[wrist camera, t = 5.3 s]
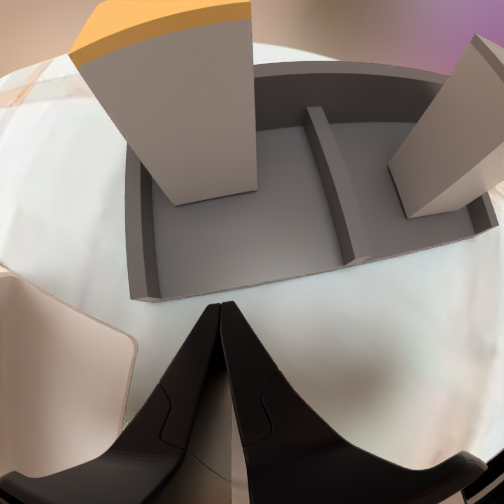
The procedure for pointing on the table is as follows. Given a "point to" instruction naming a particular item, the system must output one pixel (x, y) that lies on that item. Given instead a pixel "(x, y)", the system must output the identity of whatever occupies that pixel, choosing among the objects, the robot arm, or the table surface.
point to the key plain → (456, 137)
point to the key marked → (177, 89)
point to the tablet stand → (57, 381)
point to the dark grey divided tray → (297, 188)
